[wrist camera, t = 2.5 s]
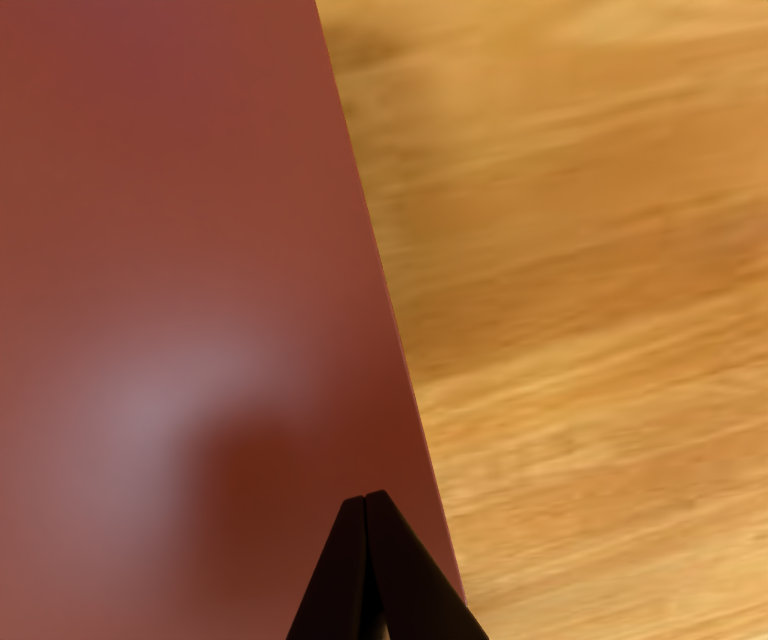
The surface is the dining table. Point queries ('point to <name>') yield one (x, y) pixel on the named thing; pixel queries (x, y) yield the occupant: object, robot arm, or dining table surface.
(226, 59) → the lid
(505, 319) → the dining table surface
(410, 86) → the dining table surface
